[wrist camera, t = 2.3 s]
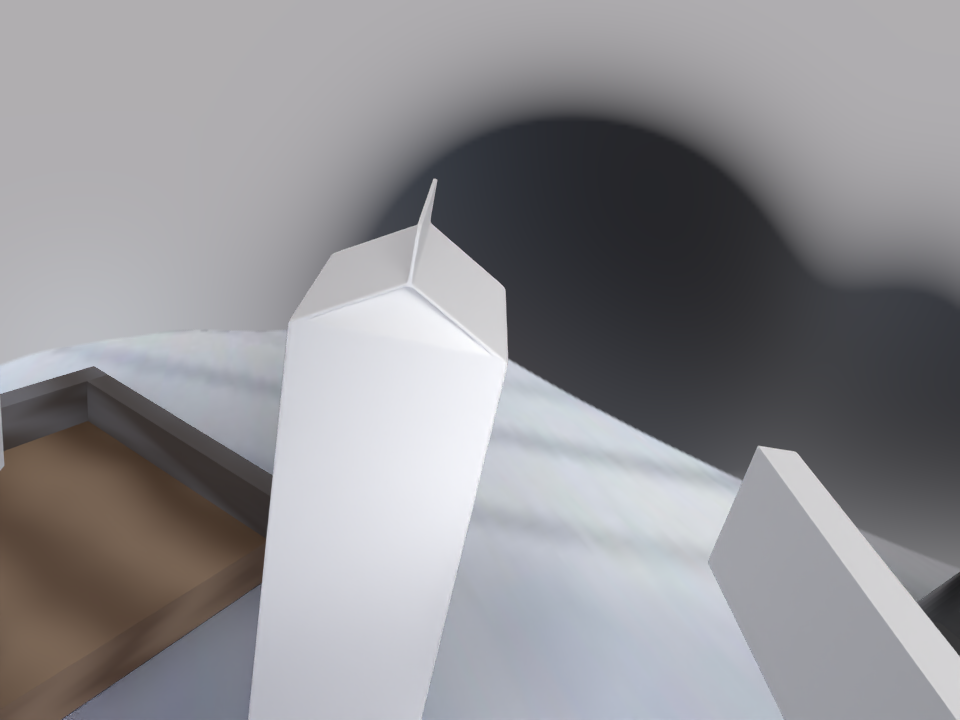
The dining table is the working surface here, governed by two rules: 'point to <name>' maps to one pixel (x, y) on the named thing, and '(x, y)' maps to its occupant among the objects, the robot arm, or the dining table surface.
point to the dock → (112, 537)
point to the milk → (375, 475)
